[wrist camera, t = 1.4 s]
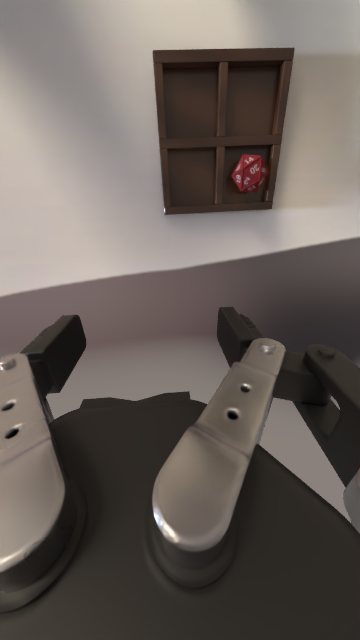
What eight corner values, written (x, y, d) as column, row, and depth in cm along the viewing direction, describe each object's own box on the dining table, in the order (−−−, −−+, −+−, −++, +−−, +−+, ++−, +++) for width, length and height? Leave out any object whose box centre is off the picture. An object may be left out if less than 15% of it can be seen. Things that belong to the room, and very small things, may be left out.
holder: (153, 58, 21) (152, 49, 20) (288, 55, 22) (295, 47, 21) (164, 214, 28) (164, 214, 27) (267, 209, 29) (272, 208, 28)
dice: (251, 149, 25) (265, 138, 22) (263, 185, 27) (278, 180, 24) (224, 168, 26) (233, 160, 22) (238, 202, 28) (248, 200, 24)
